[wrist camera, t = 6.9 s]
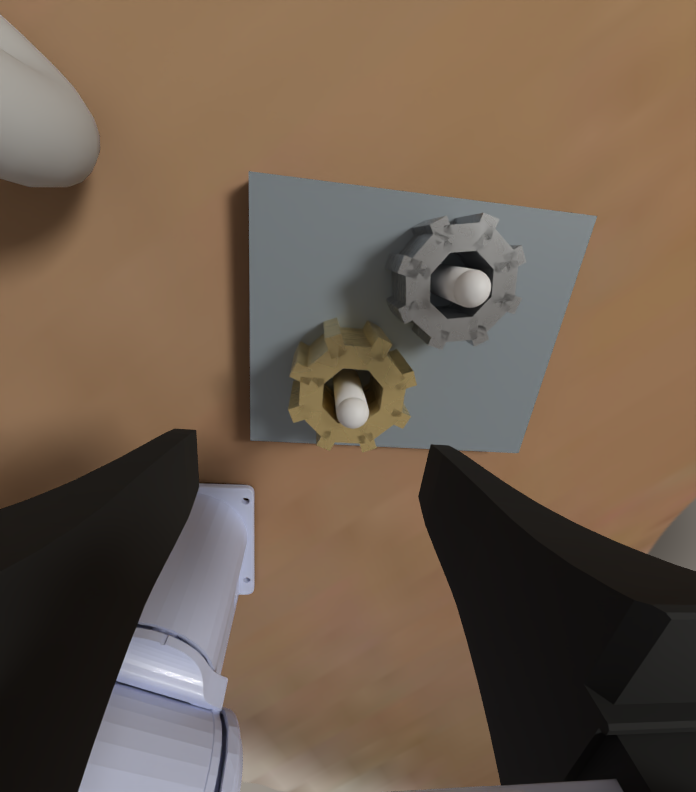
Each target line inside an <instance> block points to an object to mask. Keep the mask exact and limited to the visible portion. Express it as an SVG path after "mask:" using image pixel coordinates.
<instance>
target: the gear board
mask: <svg viewBox="0 0 696 792" xmlns="http://www.w3.org/2000/svg"><path fill="white" fill-rule="evenodd" d="M479 213H486V214H488V215H491V216H493V217H496V218H498V219H499V222H498V224H497V226H496V230H497V231H498V232H499V234H500V235H501V236H502V237H503V238H504V239H505V241H506V242H507V243H508V244H509V245H522V247H523V251H524V255H525V259H526V263H524V264H522V265H520V266H518V272H517V281H516V290H515V296H517V297H520V298H522V300H521V302H520V304H519V306H518V308H517V310H516V312H515V314H512V313H509V312H506V313H505V314H504V315H503V316H502V317H501V318H500V319H499V320H498V321H497V322H496V324H495V325H494V326H493V327H492V328H491V329H490V330H489V331H488V332H487V334H488V337H489V340H487V341H485V342H483V343H481V344H479V345H477V346H475V347H474V346H472V345H471V344H469V343H468V342H466V341H465V340H464V341H453V342H446V343H445V345H444V348H443V350H442V349H438V348H435V347H432V346H429V345H427V344H426V343H425V342H424V341H423V340H422V339H421V338H420V337H419V336H417V335H416V334H415V333H414V332H413V331H412V330H411V329H412V327H413V324H414V323H413V322H412V321H410V322H408V323H406V324H404V323H403V322H402V321H401V320H400V319H399V318H398V317H396V316H395V315H394V314H393V313H392V312H391V310H390V308H389V305H388V303H387V301H386V299H387V298H389V297H390V296H392V271H390V270H388V269H385V266H386V263H387V260H388V257H389V255H390V253H391V254H399V253H400V252H401V250H402V249H403V248H404V247H405V246H406V244H407V243H408V242H409V241H410V240H411V238H412V237H413V236H414V234H413V232H412V229H411V228H412V227H414V226H416V225H417V224H419V223H421V222H423V221H425V220H429V219H433V218H438V217H442V216H447V217H448V220H449V223H450V225H453V223H454V221H455V218H458V217H463V216H468V215H474V214H479ZM596 218H597V216H592V215H584V214H576V213H568V212H561V211H553V210H545V209H537V208H530V207H522V206H514V205H506V204H499V203H491V202H483V201H475V200H468V199H460V198H452V197H444V196H436V195H429V194H421V193H413V192H405V191H398V190H390V189H382V188H374V187H367V186H359V185H351V184H343V183H336V182H328V181H320V180H312V179H304V178H297V177H289V176H281V175H273V174H266V173H258V172H250V171H249V286H250V440H251V441H273V442H294V443H315V444H316V431H315V430H314V429H313V428H312V427H311V426H310V425H309V424H308V423H307V422H306V421H305V420H302V421H299V422H295V423H293V421H292V418H291V416H290V413H289V411H288V407H289V401H290V396H291V390H292V385H293V381H295V379H293V378H291V377H289V376H290V371H291V366H292V362H293V357H294V353H295V351H296V349H297V347H298V345H299V343H300V341H301V342H303V343H305V344H307V345H309V346H310V345H311V344H312V343H313V342H314V341H315V340H317V339H318V338H319V337H320V336H321V335H323V334H324V324H323V322H324V321H327V320H330V319H333V318H336V317H337V320H338V323H339V326H340V327H345V328H357V329H363V327H364V325H365V323H366V322H367V320H368V321H370V322H372V323H374V324H376V325H377V326H379V327H380V328H381V329H382V331H383V332H384V333H385V335H386V336H387V337H388V339H389V340H390V342H391V343H392V344H393V345H392V346H391V348H390V350H389V351H392V350H395V349H397V350H398V351H399V352H400V354H401V355H402V356H403V358H404V359H405V360H406V362H407V363H408V364H409V366H410V367H411V368H412V370H413V371H414V375H415V379H416V383H417V385H416V386H413V387H410V388H407V389H406V391H405V396H404V402H403V403H404V405H405V406H406V408H407V410H408V412H409V414H410V416H411V418H410V419H409V421H408V422H407V424H406V425H405V427H404V428H403V429H402V428H400V427H398V426H395V425H393V426H391V427H390V428H389V429H387V430H386V431H385V432H383V433H382V434H380V435H379V436H378V437H376V438H375V439H374V440H375V444H376V446H379V447H400V448H422V449H430V445H431V444H434V445H449V446H451V447H453V448H455V449H456V450H464V451H485V452H507V453H519V450H520V447H521V444H522V441H523V438H524V435H525V432H526V429H527V426H528V423H529V420H530V417H531V414H532V411H533V408H534V404H535V401H536V398H537V395H538V392H539V389H540V386H541V383H542V380H543V377H544V374H545V371H546V368H547V365H548V362H549V359H550V356H551V353H552V350H553V347H554V344H555V341H556V338H557V335H558V332H559V329H560V326H561V323H562V320H563V317H564V314H565V311H566V308H567V305H568V302H569V299H570V296H571V293H572V290H573V287H574V284H575V281H576V278H577V275H578V272H579V269H580V266H581V263H582V260H583V257H584V254H585V251H586V248H587V245H588V242H589V239H590V236H591V233H592V230H593V227H594V224H595V221H596ZM465 267H466V265H465V264H464V263H463V262H462V261H461V260H460V259H459V258H458V257H457V256H456V255H455V254H454V253H449V255H448V256H447V257H446V258H445V259H444V260H443V261H442V262H441V264H440V265H439V266H438V267H437V268H436V269H435V270H434V271H433V273H432V274H431V278H430V303H431V304H432V305H433V306H434V307H438V306H449V305H450V303H451V302H454V303H456V304H459V305H461V306H463V307H467V308H472V307H477V306H479V305H481V304H482V303H483V302H485V301H486V299H487V298H488V296H489V294H490V291H491V282H490V279H489V278H488V276H487V275H486V274H485V273H484V272H482V271H480V270H476V269H469V268H465ZM389 351H388V352H389ZM370 376H371V373H370V372H369V370H358V369H344V368H343V369H342V370H341V371H339V372H338V373H337V374H336V375H334V376H333V377H332V378H331V379H329V380H328V381H327V382H326V383H325V384H326V385H327V386H328V387H329V388H330V389H331V390H332V391H333V392H334V396H335V405H336V414H337V418H338V420H339V422H340V423H341V424H342V425H343V426H345V427H347V428H351V429H355V428H359V427H361V426H362V425H364V424H365V422H366V421H367V419H368V416H369V408H368V405H367V402H366V398H365V395H364V392H363V389H362V388H363V387H364V386H366V385H367V384H368V383H369V382H370ZM334 444H336V445H358V446H360V444H357V443H336V442H335V443H334Z"/></svg>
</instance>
